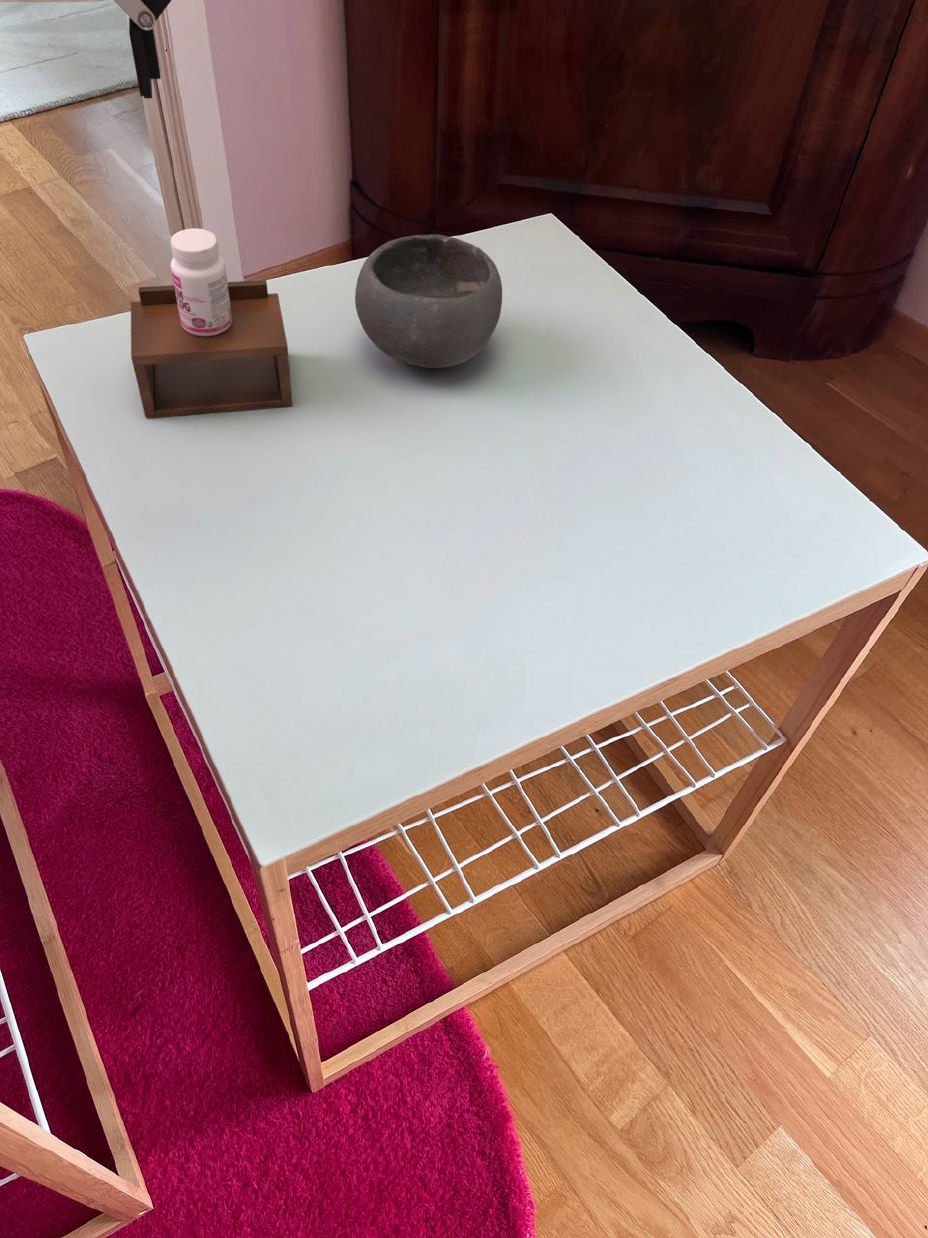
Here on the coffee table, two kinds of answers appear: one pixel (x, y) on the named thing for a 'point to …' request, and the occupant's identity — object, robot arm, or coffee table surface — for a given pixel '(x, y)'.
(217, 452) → the coffee table surface
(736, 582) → the coffee table surface
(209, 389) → the shelf
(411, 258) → the bowl
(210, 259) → the pill bottle
